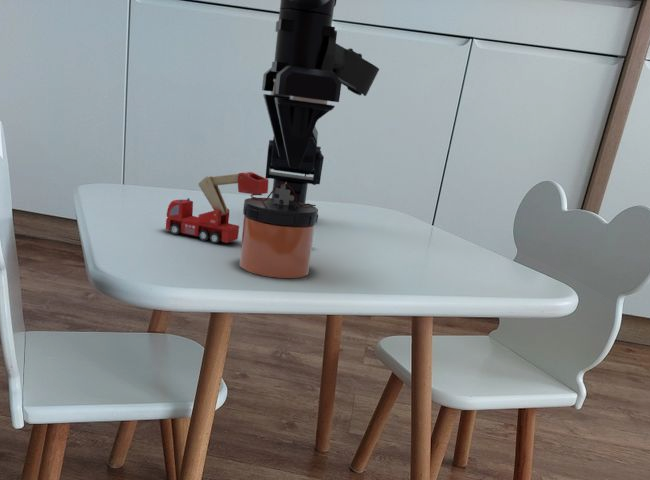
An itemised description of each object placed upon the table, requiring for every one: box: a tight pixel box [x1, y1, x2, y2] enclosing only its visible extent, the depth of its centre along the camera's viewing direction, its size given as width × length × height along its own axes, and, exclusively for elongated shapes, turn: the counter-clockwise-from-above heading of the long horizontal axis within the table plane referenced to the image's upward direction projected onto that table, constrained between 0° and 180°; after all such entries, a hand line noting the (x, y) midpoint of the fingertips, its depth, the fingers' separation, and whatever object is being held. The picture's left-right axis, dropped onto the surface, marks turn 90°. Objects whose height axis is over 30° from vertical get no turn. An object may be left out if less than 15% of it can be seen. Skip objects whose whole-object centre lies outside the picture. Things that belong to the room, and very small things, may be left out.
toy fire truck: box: [165, 171, 269, 244], centre depth 91 cm, size 3×14×10 cm, turn 68°
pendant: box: [250, 182, 317, 207], centre depth 81 cm, size 8×4×3 cm, turn 85°
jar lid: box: [242, 197, 319, 226], centre depth 80 cm, size 9×9×2 cm
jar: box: [239, 214, 316, 279], centre depth 81 cm, size 8×8×7 cm
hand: (288, 163), depth 79 cm, fingers open, 9 cm apart
